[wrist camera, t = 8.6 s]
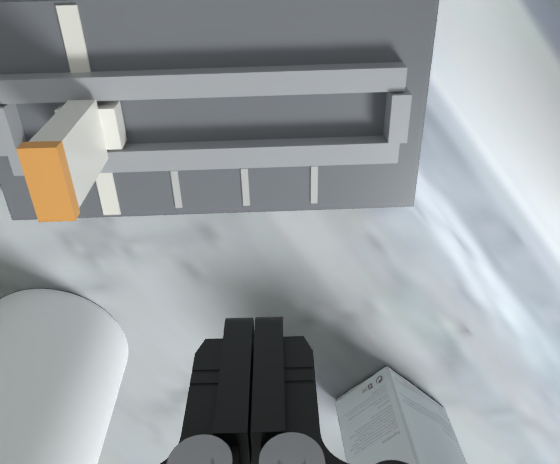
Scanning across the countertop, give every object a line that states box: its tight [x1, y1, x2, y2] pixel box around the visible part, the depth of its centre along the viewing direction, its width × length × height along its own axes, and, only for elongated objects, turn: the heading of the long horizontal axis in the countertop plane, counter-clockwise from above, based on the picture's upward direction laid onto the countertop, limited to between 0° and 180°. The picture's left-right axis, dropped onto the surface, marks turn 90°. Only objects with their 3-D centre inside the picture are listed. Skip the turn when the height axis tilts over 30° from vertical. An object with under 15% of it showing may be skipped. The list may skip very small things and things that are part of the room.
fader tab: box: [16, 100, 127, 222], centre depth 25 cm, size 3×3×8 cm
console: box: [0, 0, 439, 220], centre depth 29 cm, size 24×12×3 cm, turn 91°
